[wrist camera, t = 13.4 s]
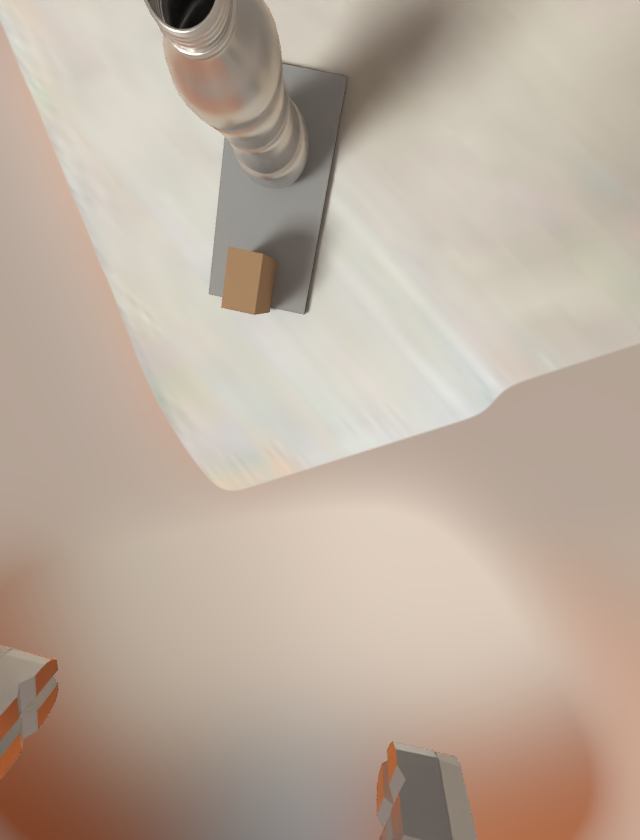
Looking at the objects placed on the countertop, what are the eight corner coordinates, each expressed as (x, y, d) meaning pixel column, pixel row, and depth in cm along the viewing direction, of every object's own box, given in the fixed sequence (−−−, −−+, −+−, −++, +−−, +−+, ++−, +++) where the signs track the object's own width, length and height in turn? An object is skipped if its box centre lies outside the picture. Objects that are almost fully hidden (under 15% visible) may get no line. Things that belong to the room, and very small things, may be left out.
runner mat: (234, 57, 33) (206, 2, 27) (347, 79, 33) (344, 28, 27) (210, 299, 40) (182, 299, 33) (303, 319, 39) (293, 323, 33)
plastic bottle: (251, 202, 36) (134, 96, 17) (234, 118, 34) (81, -105, 15) (318, 186, 35) (272, 56, 16) (304, 100, 33) (234, -164, 14)
